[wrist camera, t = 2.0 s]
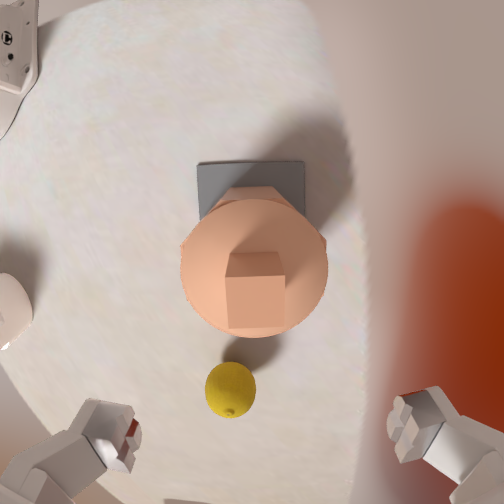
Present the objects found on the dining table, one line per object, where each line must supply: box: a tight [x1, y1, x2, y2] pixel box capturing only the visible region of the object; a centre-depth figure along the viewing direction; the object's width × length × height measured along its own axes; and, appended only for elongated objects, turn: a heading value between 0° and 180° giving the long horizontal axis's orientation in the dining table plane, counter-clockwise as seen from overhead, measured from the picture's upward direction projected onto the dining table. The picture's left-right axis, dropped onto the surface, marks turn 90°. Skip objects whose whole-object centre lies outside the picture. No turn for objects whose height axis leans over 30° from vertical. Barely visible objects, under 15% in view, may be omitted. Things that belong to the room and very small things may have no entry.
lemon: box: [205, 362, 256, 418], centre depth 30 cm, size 6×6×8 cm
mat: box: [197, 162, 305, 220], centre depth 29 cm, size 14×10×1 cm
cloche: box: [180, 186, 328, 338], centre depth 22 cm, size 10×10×14 cm
